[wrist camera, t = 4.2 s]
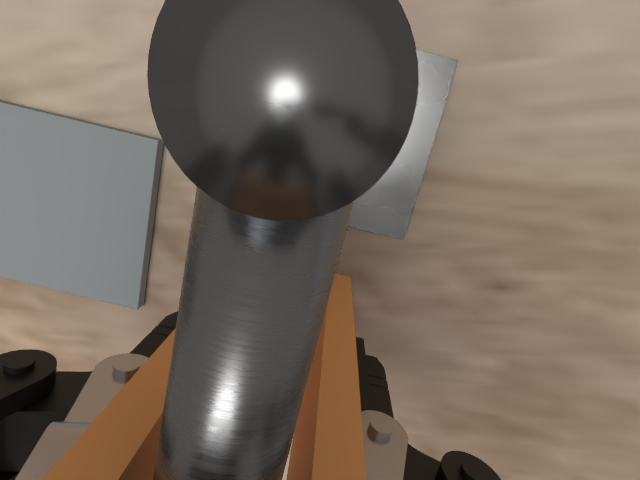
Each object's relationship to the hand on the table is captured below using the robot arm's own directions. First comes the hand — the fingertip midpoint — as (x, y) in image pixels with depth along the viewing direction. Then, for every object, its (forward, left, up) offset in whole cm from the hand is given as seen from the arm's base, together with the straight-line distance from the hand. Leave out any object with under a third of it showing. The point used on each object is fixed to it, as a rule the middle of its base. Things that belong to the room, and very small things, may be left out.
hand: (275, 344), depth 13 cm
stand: (0, -3, -6) cm, 6 cm away
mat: (+12, -1, -6) cm, 13 cm away
